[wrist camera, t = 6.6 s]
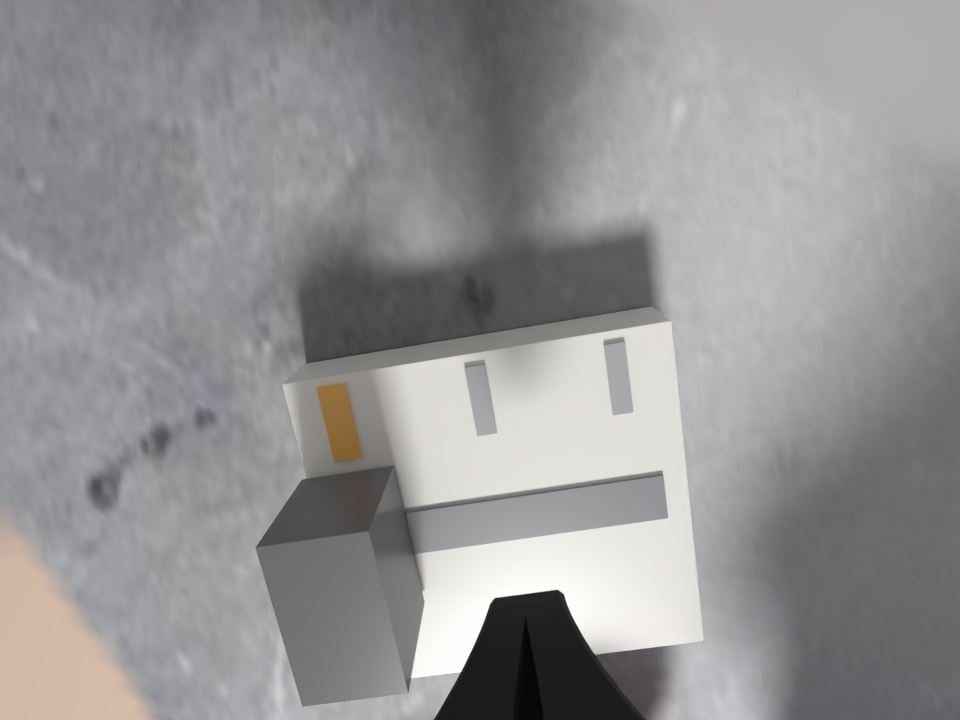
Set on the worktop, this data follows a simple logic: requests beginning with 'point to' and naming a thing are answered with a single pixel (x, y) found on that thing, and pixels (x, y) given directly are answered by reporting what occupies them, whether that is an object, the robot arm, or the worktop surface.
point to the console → (524, 473)
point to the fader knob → (345, 586)
